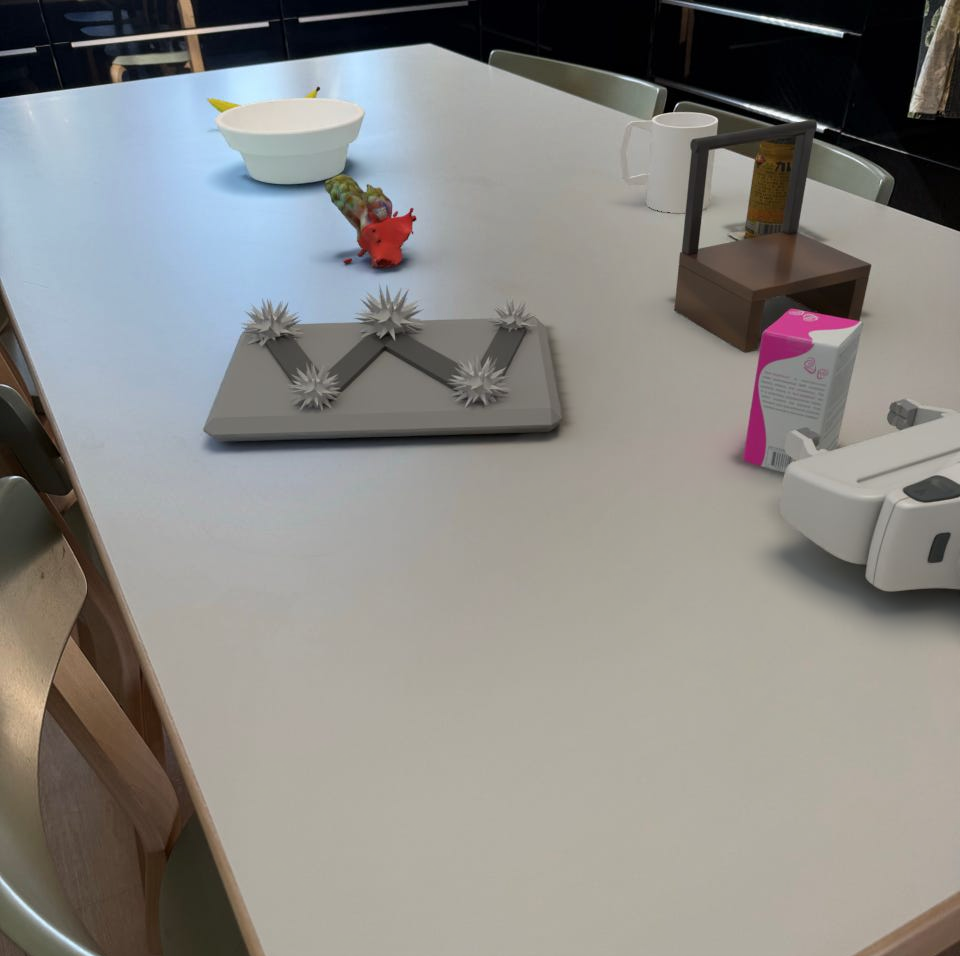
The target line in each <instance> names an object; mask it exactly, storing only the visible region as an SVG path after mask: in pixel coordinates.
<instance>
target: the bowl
mask: <svg viewBox="0 0 960 956" xmlns="http://www.w3.org/2000/svg"><path fill="white" fill-rule="evenodd" d="M365 114H366V112H365V109H364V108H363V107H362V106H361V105H360V104H357V103H354V102H351V101H347V100H342V99H337V98H326V97H325V98H324V97H316V98H304V97H293V98H292V97H291V98H277V99H269V100H261V101H255V102H251V103H246V104H242V106H238V107H234V108H232V109H229V110H226V111H224V112H222V113H221V112H220V113H219V114H218V115H217V116H216V117H215V120H214V124H215V125H216V127H217V129H218V131H219V132H220V134H221V135H222V137H223V139H224V141H225V142H226V144H227V146H228V147H229V148H230V149H231V150H233V151H236V152H238V153H239V154H240V156H241V158H242V160H243V162H244V164H245V166H246V169H247V171H248V173H249V175H250V177H251V178H253V179H254V180H256V181H259V182H262V183H267V184H275V185H298V184H301V185H302V184H309V183H315V182H320V181H325V180H329V179H332V178H334V177H336V176H339V175H341V173H342V172H344V169H345V166H346V161H347V154H348V149H349V145H350V144H352V143H353V142H355V141H356V140H357V139H358V137H359V134H360V131H361V128H362V124H363V122H364V119H365Z"/></svg>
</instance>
